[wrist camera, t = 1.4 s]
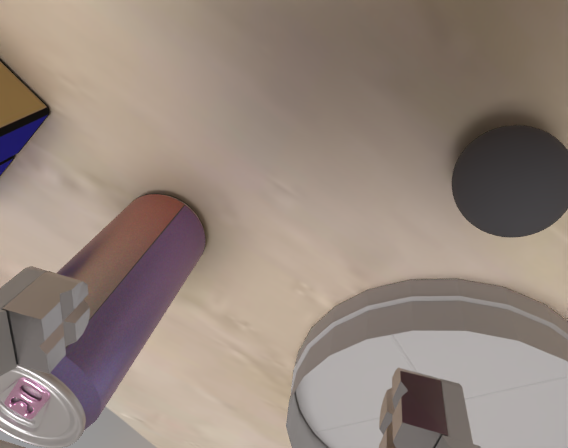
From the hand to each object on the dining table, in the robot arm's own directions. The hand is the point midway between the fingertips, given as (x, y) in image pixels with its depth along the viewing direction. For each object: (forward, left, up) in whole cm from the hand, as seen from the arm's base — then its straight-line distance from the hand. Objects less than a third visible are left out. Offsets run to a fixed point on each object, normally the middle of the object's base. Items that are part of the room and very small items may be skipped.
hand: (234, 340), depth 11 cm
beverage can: (+10, -9, -17) cm, 22 cm away
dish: (+19, +13, -18) cm, 29 cm away
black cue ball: (0, +10, -14) cm, 17 cm away
